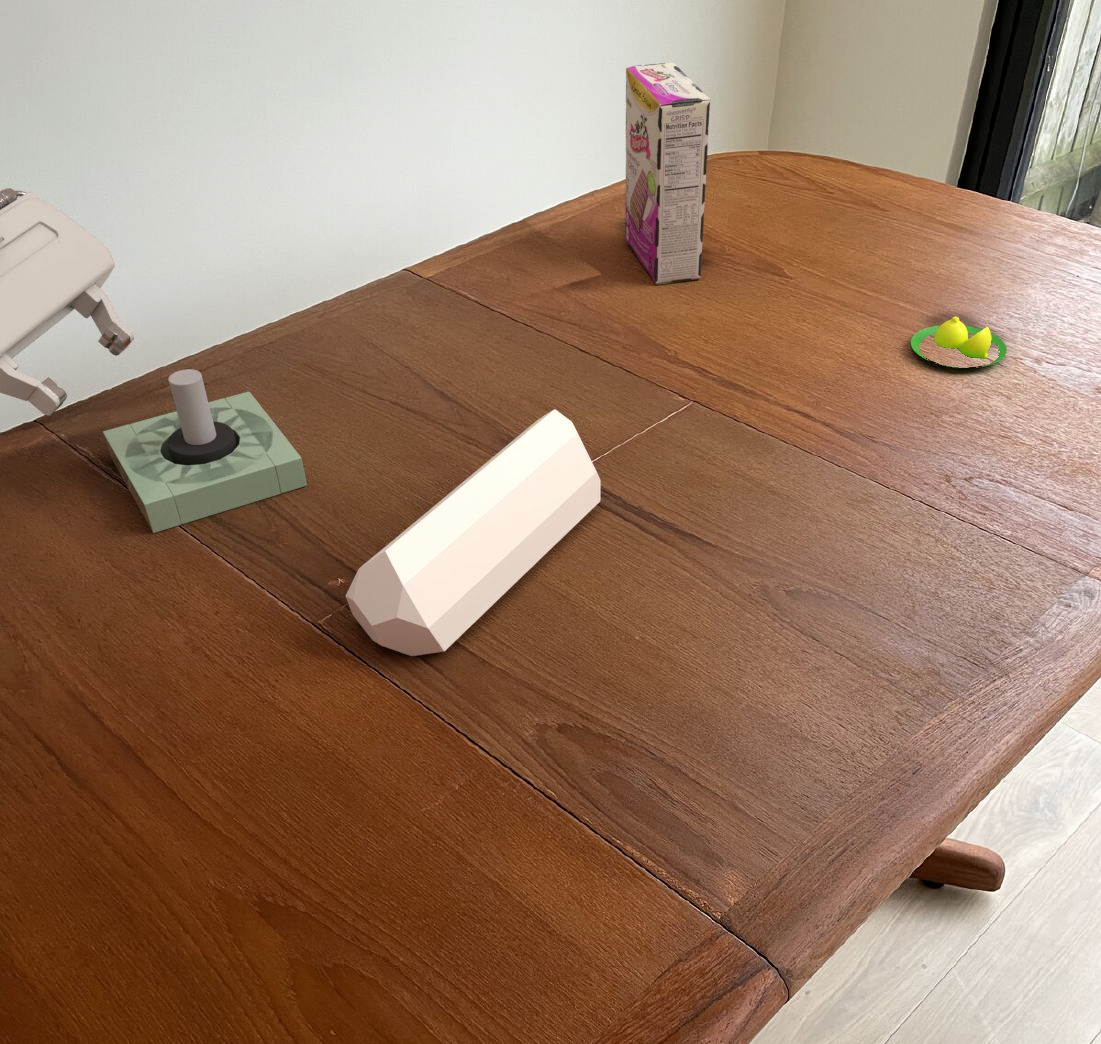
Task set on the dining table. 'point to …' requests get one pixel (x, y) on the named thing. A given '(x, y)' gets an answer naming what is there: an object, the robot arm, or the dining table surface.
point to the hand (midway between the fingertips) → (93, 375)
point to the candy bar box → (665, 171)
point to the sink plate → (204, 465)
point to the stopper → (196, 423)
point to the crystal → (476, 541)
